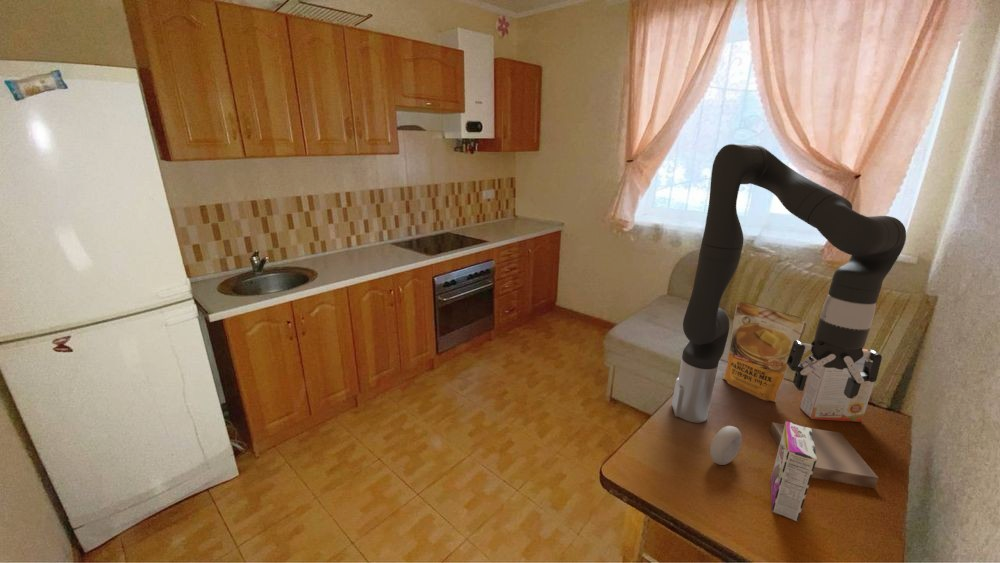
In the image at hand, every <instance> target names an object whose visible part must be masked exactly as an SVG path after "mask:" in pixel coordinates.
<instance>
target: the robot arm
mask: <svg viewBox="0 0 1000 563" xmlns="http://www.w3.org/2000/svg"><path fill="white" fill-rule="evenodd" d="M710 174H711V176H710V184H709V185H710V186H709V187H710V189H709V199H708V207H707V213H706V219H705V225H704V231H703V234H702V239H701V244H700V248H699V254H698V260H697V266H696V269H695V270H696V271H695V276H694V281H693V286H692V291H691V294H690V298H689V302H688V304H687V307H686V309H685V310H686V311H685V313H684V317H683V321H682V329H683V334H684V335H685V337H686V338H687V340H688V343H687V344H686V345H685V347H684V348H683V350H682V354H681V361H680V366H679V374H678V377H676V379H675V383H674V384H675V385H674V391H673V395H672V401H671V402H672V403H671V406H672V409H673V414H674V416H675V417H676V418H677V417H678V418H680V419H682V420H684V421H686V422H690V423H699V424H700V423H704V422H706V421H707V420H708V416H709V413H710V406H711V402H712V398H713V397H712V396H713V392H714V386H715V382H716V378H717V377H716V376H717V371H718V367H719V363H720V360H721V358H722V357H723V355H724V352H725V349H726V344H727V340H728V337H729V332H730V318H729V316H728V314H727V312H725V310H724V309H722V308H721V307H720V303H721V300H722V297H723V295H724V292H725V291H726V289H727V287H728V285H729V284H730V282H731V280H732V278H733V277H734V275H735V273H736V270H737V269H738V266H739V263H740V259H741V257H742V256H741V255H742V250H743V247H744V233H743V229H742V225H741V222H740V219H739V216H738V211H737V201H738V196H739V191H740V188H741V185H749V184H750V185H754V186H757V187H760V188H763V189H765V190H766V191H768V192H770V193H771V194H773V195H774V196H776V198H777V199H778V200H779V202H780V203H781V204H782V206H783V207H784V208H785V209H786V210H787V211H788V212H789V213H790V214H792V216H794V217H796V218H798V220H799V219H800V220H801V221H803V222H804V223H806V224H807V225H809V226H811V227H813V228H815V229H817V231H818V232H819V233H820V235H821V236H822V237H824V238H825V240H827V241H828V243H830V244H831V246H833V247H835V248H836V249H837V250H838V251H841V252H843V253H845V254H847V255H850V258H849V260H848V261H847V262H846V263H845V264H844V265H841V266H839V267H838V268H836V270H835V271H834V274H833V276H832V279H831V282H830V286H829V290H828V293H827V296H826V298H825V301H824V302H823V305H822V309H821V310H820V313H819V314H820V316H819V320H818V324H817V327H816V331H815V334H814V340H812V342H810V343H806V342H802V341H801V339H800V340H795V341H794V343H793V346H792V349H791V351H790V354H789V357H788V360H787V365H788V366H789V369H790V370H791V371H793V372H795V373H794V377H793V381H792V382H793V385H794V386H795V388H796V389H797V390H798V391H802V392H804V390H805V386H806V382H807V378H808V375H809V372H811V371H812V370H817V369H818V368H820V367H821V366H823V367H826V368H836V369H840V370H843V369H845V368H846V369H847V371H848V372H849V374H850V375H851V378H850V377H848V380H847V383H846V386H845V390H844V394H845V395H846V397H847V398H851V399H853V398H854V396H857V395H858V392H859V389H860V386H861V383H863V382H865V381H870V382H875V383H876V382H877V379H878V375H879V370H880V367H881V364H882V361H881V360H883V356H882V355H881V354H880V353H879V352H877V351H876V350H875V349H873V348H869V349H867V350H868V351H864V350H862V349H864V347H865V345H866V342H867V339H868V335H869V333H870V330H871V326H872V325H873V320H874V317H875V313H876V306H877V302H878V299H879V296H880V293H881V289H882V287H883V282H884V280H885V278H886V276H888V274H889V273H890V271H891V270H892V268H893V267H894V265H895V263H896V261H897V260H898V258H899V256H900V255H901V253H902V252H903V250H904V248H905V244H906V239H907V230H906V227H905V225H904V224H903V222H902V221H901V220H899V219H898V218H896V217H894V216H889V215H875V216H872V215H871V216H866V215H864V214H860V212H859V213H858V212H857V211H855V210H854V209H853V205H852V202H850V200H849V199H847V198H845V197H844V196H843V195H840V194H839V193H836V192H835V191H832V190H831V189H829V188H828V187H827V188H826V187H825V186H823V185H821V184H818V183H817V182H815V181H812V180H811V179H809V178H807V177H805V176H804V175H802V174H800V173H798V171H795V170H793V168H791V167H790V166H789V165H787V164H786V163H785V162H783V161H781V160H780V159H779V158H778V157H777V156H775V155H774V154H773V153H772V152H771V151H769V150H768V149H766V148H765V147H764V146H762V145H759V144H752V143H730V144H726V145H723V147H721V148H720V149H719V151H718V152H717V153H716V155H715V157H714V160H713V164H712V169H711V173H710ZM808 351H810V352H811V353H810V354H808V355H807V356H805V357H804V359H803V360H802V358H803V356H804V355H806V354H807V352H808ZM862 357H863V359H864V360H865V363H864V367H863V371H862V372H861V373H860V372H859V370H858V368H857V367H856V365H855V364H854V363H855V362H857V361H858V360H860V359H861V358H862ZM815 359H816V360H817V361H815V362H813V361H814V360H815ZM807 374H808V375H807Z"/></svg>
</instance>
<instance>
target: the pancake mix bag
mask: <svg viewBox="0 0 1000 563" xmlns="http://www.w3.org/2000/svg"><path fill="white" fill-rule="evenodd" d="M732 320H733V322H732V327H731V332H730V340H729V350H728V357H727V364H726V365H727V366H726V369H725V372H724V375H723V376H722V380H725V381H726V383H727V384H728V385H730V386H732V387H734V388H736V389H738V390H740V391H742V392H744V393H746V394H748V395H751V396H753V397H755V398H757V399H759V400H762V401H764V402H769V401H770V402H773V403H776V402H777V393H778V391H779V390H780V387H781V386H782V384H783V381H784V378H785V377H786V374H787V372H788V370H789V369H790V367H789V366H788V365H787V360H788V357H789V354H790V351H791V349H792V346H793V343H794V341H795V340H800V341H801V340H802V337H803V335H804V333H805V329H806V326H807V325H806V321H804V320H803V318H802V317H800V316H796V315H792V314H789V313H786V312H780V311H778V310H775V309H770V308H768V307H765V306H760V305H756V304H752V303H748V302H745V301H744V302H743V301H738V302H735V306H734V312H733V318H732Z"/></svg>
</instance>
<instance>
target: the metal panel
mask: <svg viewBox="0 0 1000 563" xmlns="http://www.w3.org/2000/svg"><path fill="white" fill-rule="evenodd" d="M784 426H785V423H780V422H773V421H772V422H771V426H770V429H769V430H770V431H769V432H770V434H771V436H772V438H773V439H774V441H775V443H776V444H777V446H778V447H779V445H780V441H781V437H782V434H783V430H784ZM810 428H811V429H812V434H813V440H814V445H815V451H816V457H817V461H816V464H815V467H814V470H813V474H812V478H813V479H818V480H819V479H820V480H826V481H831V482H836V483H843V484H849V485H853V486H859V487H865V488H871V489H875V488H876V487H877V484H878V480H879V479H880V478H879V477H878V475H876V473H875V472H874V470H873V469H872V468H871V467H870V466H869V465H868V463H867V462H866V461H865V459H863V457H862V456H861V455H860V454H859V453H858V452H857V451H856V449H855V448H854V447H853V445H851V443H850V442H849V441H848V440H847V439H846V438H845V437H844V435H843V434H842V433H841V432H838V431H831V430H826V429H819V428H812V427H810Z"/></svg>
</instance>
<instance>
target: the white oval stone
mask: <svg viewBox="0 0 1000 563" xmlns="http://www.w3.org/2000/svg"><path fill="white" fill-rule="evenodd" d="M742 440H743V436H742V433H741V431H740V430H739V429H738V428H737V426H736V427H735V426H734V425H733V426H732V425H726V426H724V427H722V428H721V429H719V430H718V432H717V433H716V434H715V435H714V437H713V439H712V440H711V444H710V449H709V454H710V458H711V460H712V461H713V462H714V463H715V464H717V465H727V464H729V463H731V462H732V461H733V460H734V459H735V458H736V456H737V455H738V453H739V451H740V449H741V446H742V442H743V441H742Z"/></svg>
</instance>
